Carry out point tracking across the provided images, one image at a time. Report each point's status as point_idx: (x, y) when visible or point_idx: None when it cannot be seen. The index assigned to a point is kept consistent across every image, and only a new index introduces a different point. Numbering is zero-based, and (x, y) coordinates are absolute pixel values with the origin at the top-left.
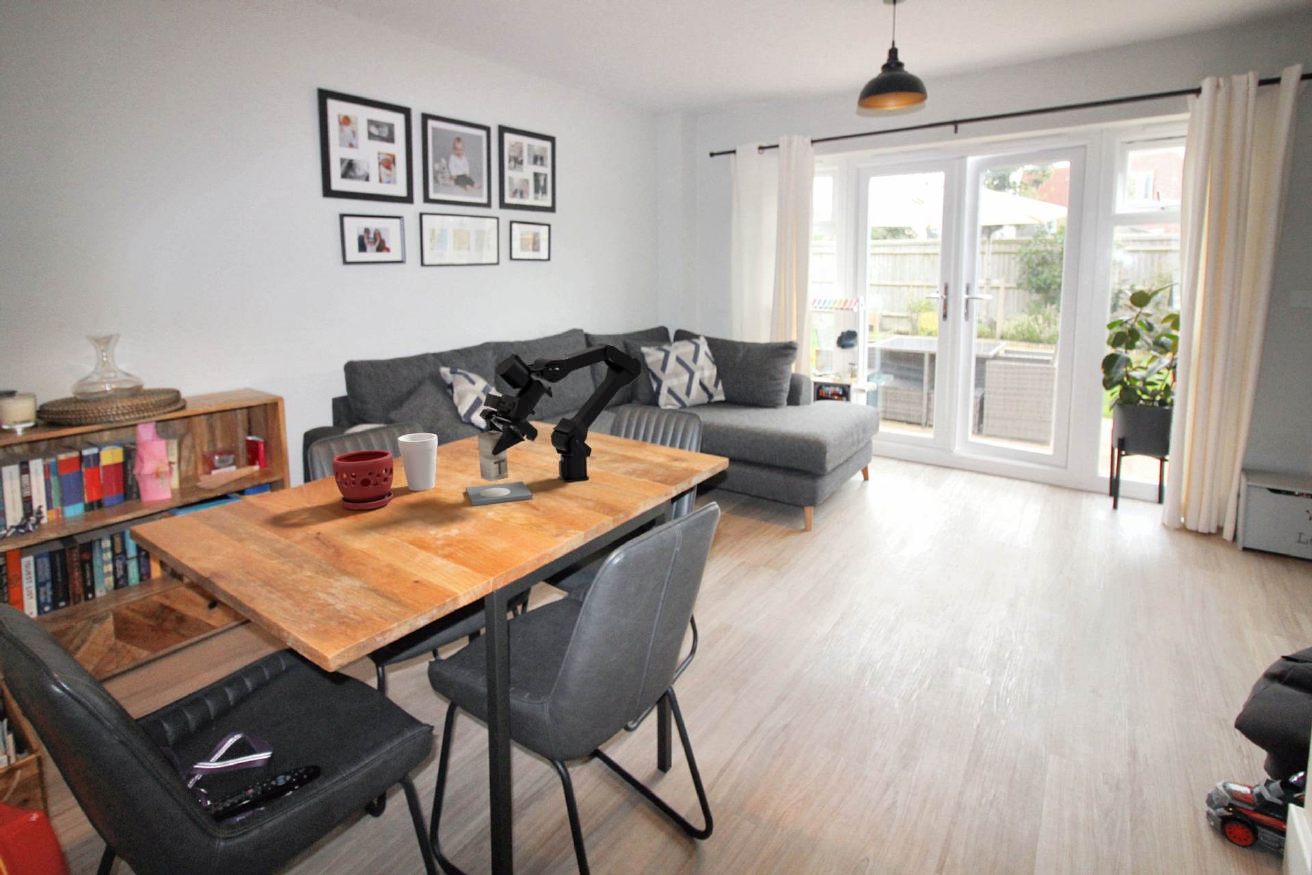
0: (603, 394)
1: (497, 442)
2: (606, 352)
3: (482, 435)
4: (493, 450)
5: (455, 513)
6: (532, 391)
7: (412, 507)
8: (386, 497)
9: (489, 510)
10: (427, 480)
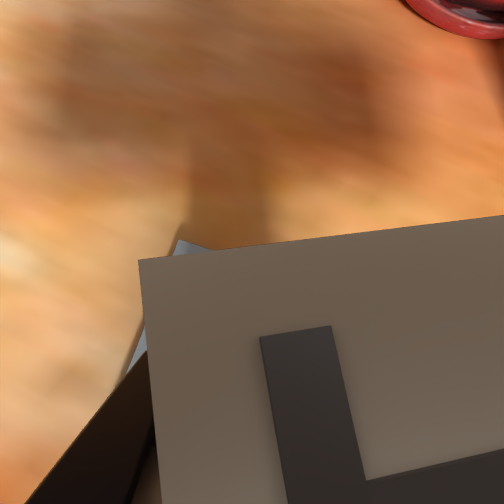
0: None
1: (123, 475)
2: None
3: (422, 230)
4: (147, 370)
5: (135, 141)
6: None
7: (330, 61)
8: (458, 12)
9: (53, 273)
10: None
